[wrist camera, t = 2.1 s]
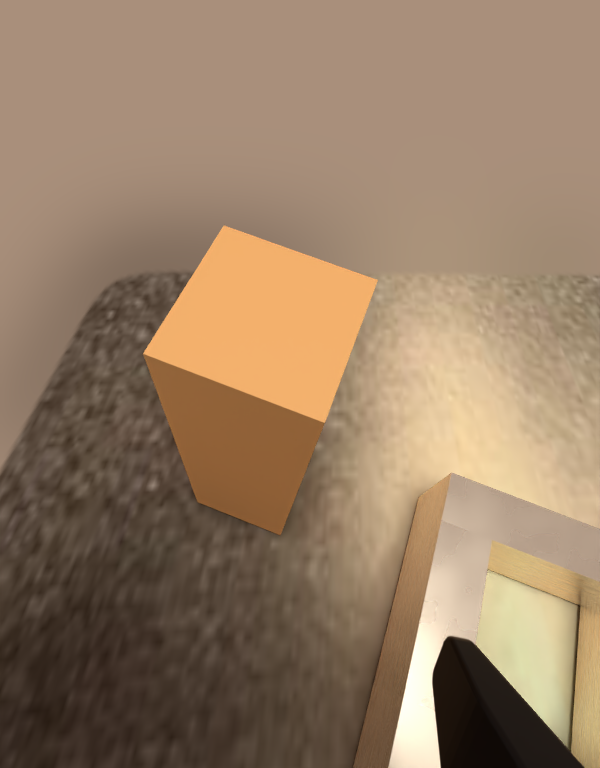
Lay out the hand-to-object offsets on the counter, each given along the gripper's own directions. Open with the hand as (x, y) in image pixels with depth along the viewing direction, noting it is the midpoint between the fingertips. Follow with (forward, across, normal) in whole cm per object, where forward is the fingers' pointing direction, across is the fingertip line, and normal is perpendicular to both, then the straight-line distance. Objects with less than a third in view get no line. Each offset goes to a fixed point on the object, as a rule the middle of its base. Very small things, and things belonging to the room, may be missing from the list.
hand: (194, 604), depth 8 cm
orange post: (+13, 0, +5) cm, 14 cm away
